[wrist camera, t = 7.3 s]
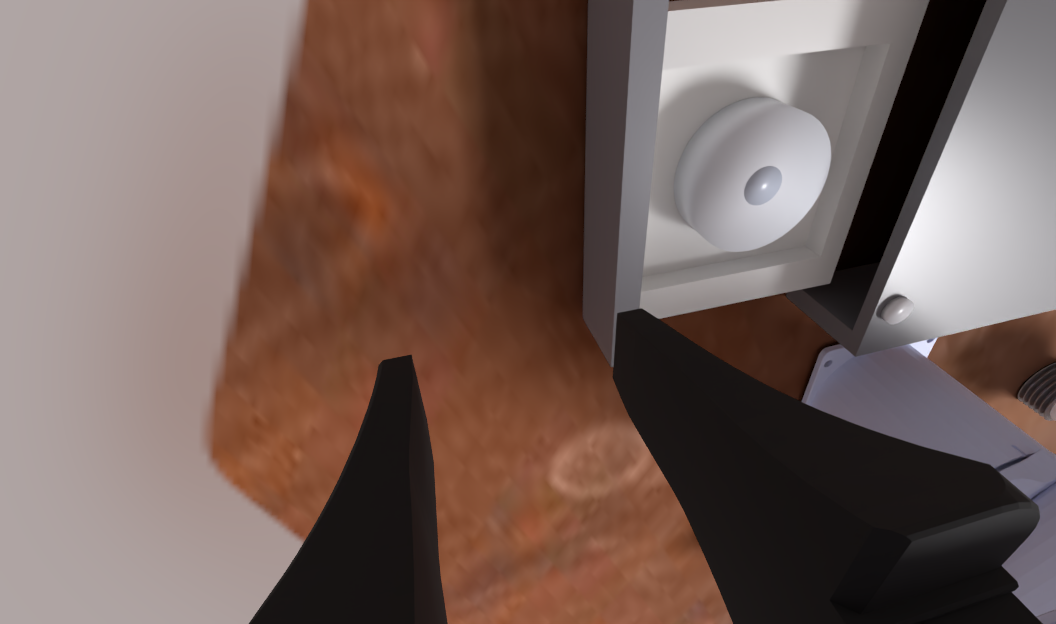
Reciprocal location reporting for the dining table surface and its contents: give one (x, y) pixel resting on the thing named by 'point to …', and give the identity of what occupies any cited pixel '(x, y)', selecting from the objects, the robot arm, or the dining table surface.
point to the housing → (967, 202)
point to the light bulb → (1041, 392)
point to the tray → (687, 103)
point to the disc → (751, 173)
